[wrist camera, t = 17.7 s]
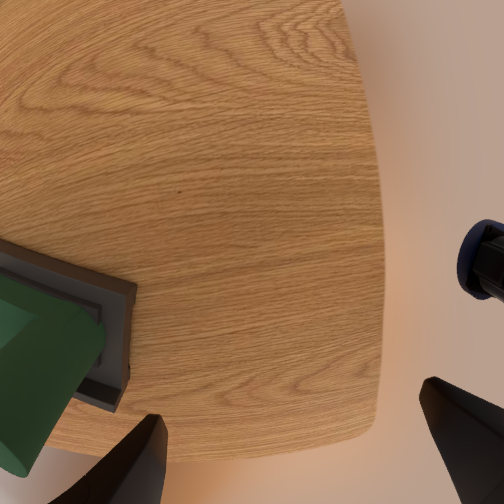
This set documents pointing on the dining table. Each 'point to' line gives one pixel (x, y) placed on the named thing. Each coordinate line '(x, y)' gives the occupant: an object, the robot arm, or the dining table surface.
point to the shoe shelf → (112, 316)
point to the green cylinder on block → (40, 362)
